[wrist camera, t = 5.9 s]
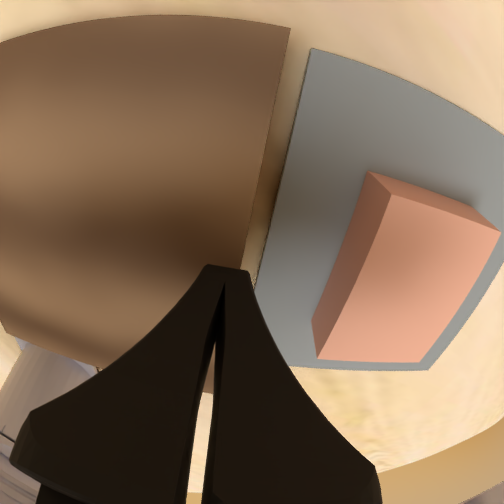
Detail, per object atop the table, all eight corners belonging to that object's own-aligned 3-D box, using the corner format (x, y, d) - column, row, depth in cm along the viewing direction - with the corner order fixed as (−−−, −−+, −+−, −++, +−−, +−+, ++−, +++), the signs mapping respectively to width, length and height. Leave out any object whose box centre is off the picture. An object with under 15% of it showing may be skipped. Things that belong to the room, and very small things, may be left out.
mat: (426, 366, 18) (427, 370, 18) (237, 354, 17) (237, 359, 17) (539, 164, 10) (543, 167, 9) (310, 49, 9) (311, 47, 8)
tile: (316, 358, 13) (310, 320, 15) (419, 362, 13) (405, 329, 15) (391, 194, 8) (367, 170, 11) (501, 232, 9) (471, 206, 11)
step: (221, 351, 17) (215, 394, 14) (27, 302, 16) (6, 332, 13) (282, 42, 9) (290, 28, 6) (-5, 55, 8) (-46, 62, 5)
